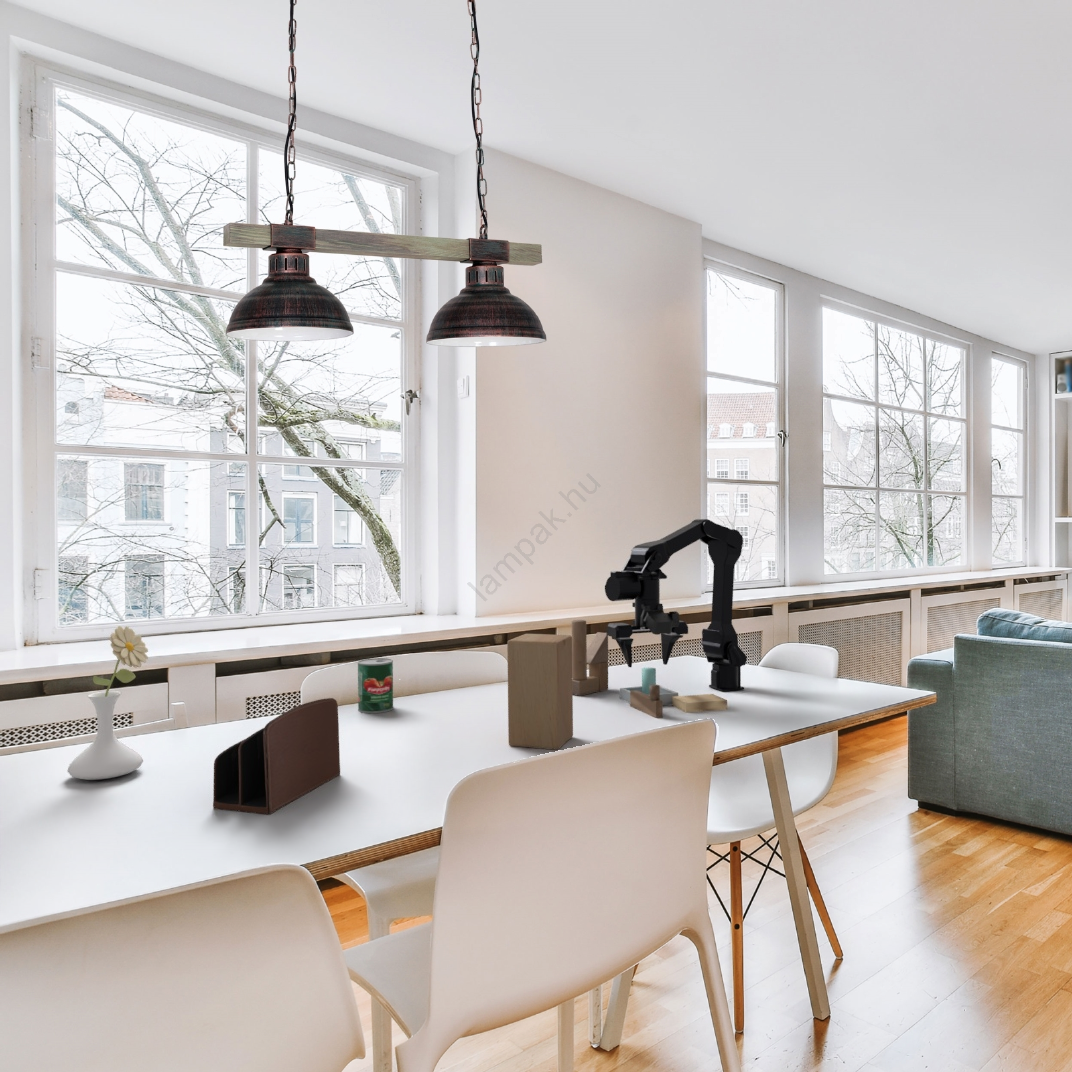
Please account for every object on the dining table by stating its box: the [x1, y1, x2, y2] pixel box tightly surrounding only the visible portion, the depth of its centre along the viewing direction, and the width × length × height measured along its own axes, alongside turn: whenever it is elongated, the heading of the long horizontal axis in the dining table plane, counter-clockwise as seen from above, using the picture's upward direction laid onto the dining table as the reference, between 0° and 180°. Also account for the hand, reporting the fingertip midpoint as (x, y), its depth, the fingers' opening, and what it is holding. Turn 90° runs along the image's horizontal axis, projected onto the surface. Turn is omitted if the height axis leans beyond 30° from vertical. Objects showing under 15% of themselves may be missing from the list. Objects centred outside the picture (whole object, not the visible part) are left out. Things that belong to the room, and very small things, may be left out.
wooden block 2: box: [571, 619, 609, 697], centre depth 202 cm, size 4×11×18 cm, turn 135°
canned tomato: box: [357, 657, 394, 714], centre depth 186 cm, size 8×8×11 cm
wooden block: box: [506, 633, 574, 751], centre depth 157 cm, size 10×10×20 cm
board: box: [672, 693, 728, 713], centre depth 185 cm, size 10×7×2 cm
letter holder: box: [212, 697, 341, 816], centre depth 130 cm, size 10×20×14 cm, turn 163°
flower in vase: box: [66, 625, 149, 781], centre depth 140 cm, size 13×11×25 cm
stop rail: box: [629, 684, 664, 719], centre depth 181 cm, size 2×12×6 cm, turn 20°
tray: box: [619, 685, 679, 706], centre depth 191 cm, size 10×10×2 cm
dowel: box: [641, 667, 657, 695], centre depth 191 cm, size 3×3×7 cm
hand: (647, 665), depth 191 cm, fingers open, 9 cm apart
